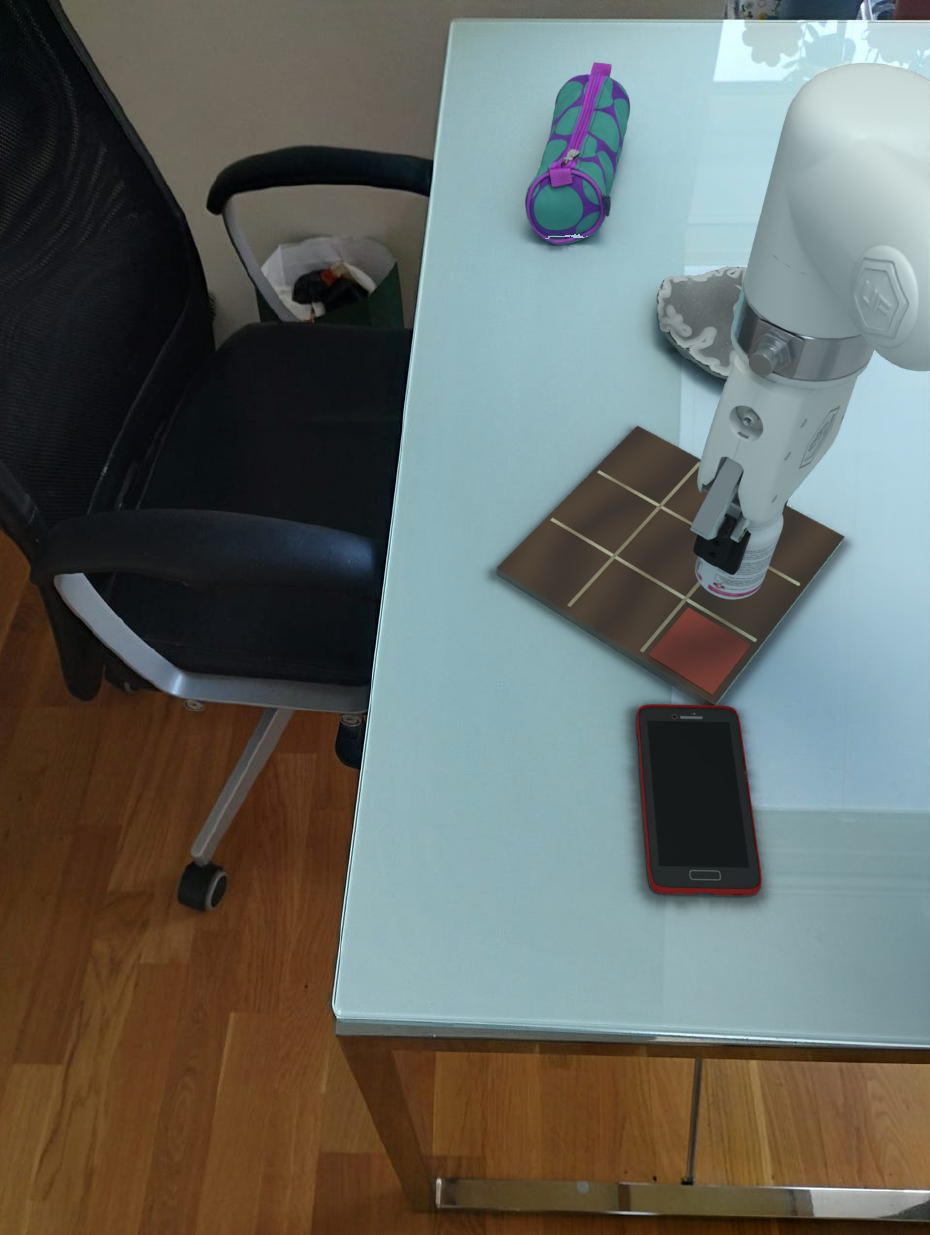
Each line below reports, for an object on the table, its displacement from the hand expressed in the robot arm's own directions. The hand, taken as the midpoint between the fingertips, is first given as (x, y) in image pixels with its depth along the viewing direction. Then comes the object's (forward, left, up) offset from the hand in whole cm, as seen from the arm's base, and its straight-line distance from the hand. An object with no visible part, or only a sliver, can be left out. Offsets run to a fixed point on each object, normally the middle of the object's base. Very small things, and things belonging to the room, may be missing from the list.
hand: (737, 534), depth 71 cm
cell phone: (-6, +10, -16) cm, 20 cm away
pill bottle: (0, 0, -4) cm, 4 cm away
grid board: (+7, -7, -16) cm, 19 cm away
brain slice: (+15, -35, -16) cm, 41 cm away
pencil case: (+43, -44, -16) cm, 64 cm away
